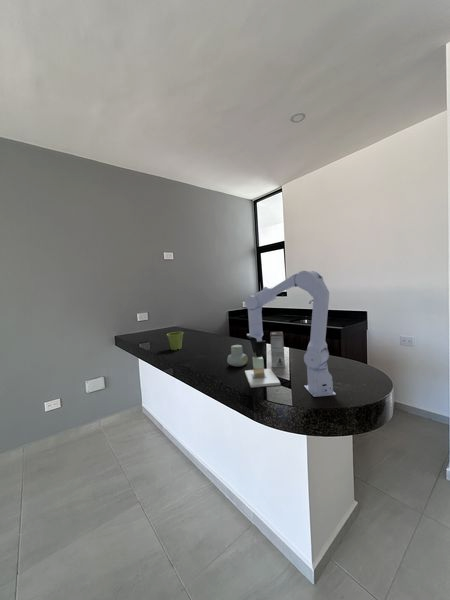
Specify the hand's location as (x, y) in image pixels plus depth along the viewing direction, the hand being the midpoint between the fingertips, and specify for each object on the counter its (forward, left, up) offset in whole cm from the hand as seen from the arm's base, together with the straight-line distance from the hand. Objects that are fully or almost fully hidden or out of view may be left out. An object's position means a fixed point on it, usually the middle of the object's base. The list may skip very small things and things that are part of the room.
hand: (257, 354), depth 108 cm
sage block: (0, 0, -5) cm, 5 cm away
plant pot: (+71, +46, -11) cm, 85 cm away
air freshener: (+22, +7, -11) cm, 25 cm away
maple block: (0, 0, -9) cm, 9 cm away
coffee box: (+17, -13, -11) cm, 24 cm away
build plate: (0, -1, -10) cm, 10 cm away
